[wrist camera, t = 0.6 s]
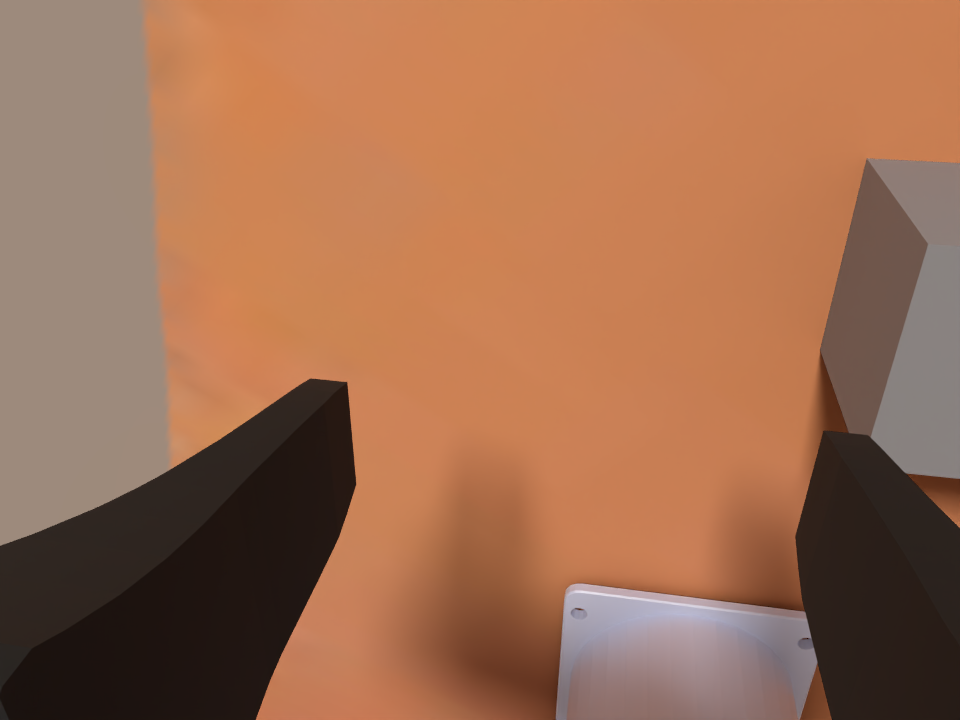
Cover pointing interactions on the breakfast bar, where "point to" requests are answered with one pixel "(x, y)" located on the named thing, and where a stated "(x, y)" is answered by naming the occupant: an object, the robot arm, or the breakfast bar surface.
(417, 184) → the breakfast bar surface
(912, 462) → the grey cube
